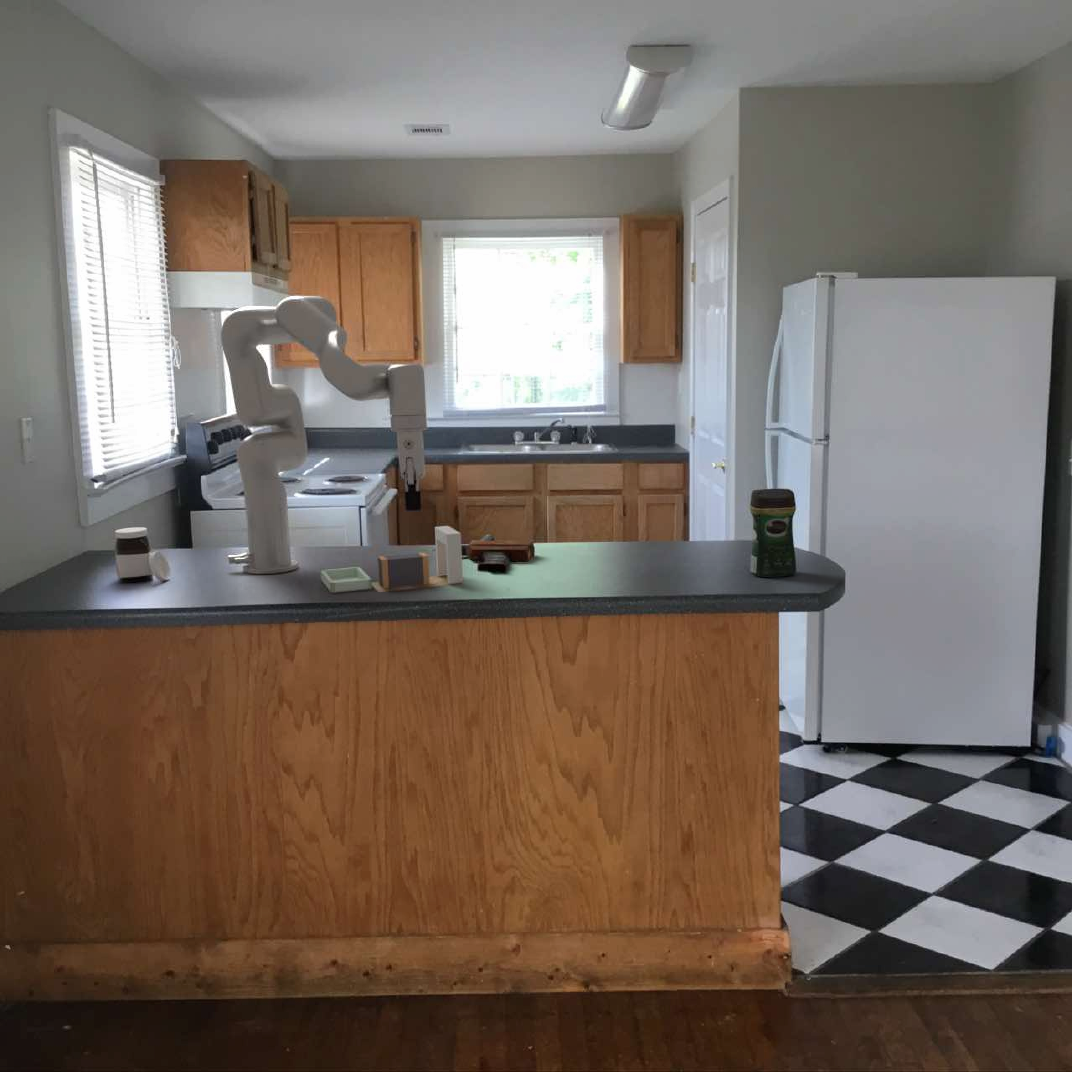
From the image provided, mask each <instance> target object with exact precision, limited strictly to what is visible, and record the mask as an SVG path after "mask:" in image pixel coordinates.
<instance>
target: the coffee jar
mask: <svg viewBox="0 0 1072 1072" xmlns="http://www.w3.org/2000/svg"><path fill="white" fill-rule="evenodd" d="M749 509H750V514H751V517H752V526H753V528H752V542H751V550H750V552H751V554H750V561H749V564H750V565H749V566H750V567H749V571H750V573H751V574H752V575H754V576H757V577H764V578H777V577H778V578H779V577H780V578H781V577H787V576H793V575H794V574H796V573H797V562H796V551H795V542H794V531H793V530H794V529H793V526H794V523H793V522H794V521H793V519H794V515H795V513H796V510H797V504H796V497H795V492H793V490H791V489H789V488H763V489H753V490H752V491H751V496H750V505H749Z"/></svg>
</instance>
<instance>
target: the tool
mask: <svg viewBox="0 0 1072 1072" xmlns="http://www.w3.org/2000/svg"><path fill="white" fill-rule="evenodd" d="M534 543H535V542H534V540H495V538H494V536H493V535H492V534H490V533H489V534H487V533H486V534H485V535H484V536H483V537H482V538H481V539H480V540H471V541H470V542H469V543H468V544H461V552H462V557H464V556H465V557H467V559H469V561H470V562H473V563H478V565H477V567H476V568H477V571H486V572H488V573H489V572H492V573H496V574H497V573H498V574H506V573H508V568H509V566H510V564H511V563H509V562H526V563H527V562H528V561H530V560H532V559H533V558H534V557H535V553H536V552H535V551H536V550H535V545H534ZM433 551H435V552H436V549H433ZM532 557H533V558H532ZM531 558H532V559H531ZM529 559H530V560H529Z"/></svg>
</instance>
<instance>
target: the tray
mask: <svg viewBox="0 0 1072 1072" xmlns="http://www.w3.org/2000/svg"><path fill="white" fill-rule="evenodd" d="M319 573H320V581H321V582H322V583H323V584H324V586H325V587H326V588H327V590H328V591H329V592H330V593H331V594H334V593H335V594H336V593H343V592H345V593H346V592H353V591H363V590H364V591H365V590H372V589H373V586H372V582H373V581H372V580H373V579H372V578H371V577H370V576H369V575H368V574H367V573H366V572H365V571H364V570H363V569H362V568H361V567H360V566H352V567H342V568H334V569H333V568H332V569H330V568H329V569H321V570H320V571H319Z"/></svg>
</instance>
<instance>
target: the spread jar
mask: <svg viewBox="0 0 1072 1072" xmlns="http://www.w3.org/2000/svg"><path fill="white" fill-rule="evenodd" d="M114 533H115V534H114V535H115V541H114V553H115V564H116V565H115V566H116V574H117V580H118V582H119V583H121V584H126V585H127V584H128V585H130V584H134V585H135V584H141V583H142V584H143V583H147V582H149V581H152V580H153V577H154V578H155V579H157V580H158V581H159V582H164V581H167V580H169V579H170V578H171V568H170V564H169V562H168V560H167V557H165V555H164V554H163V553H162V552H161V551H159V550H156V551H154V552H152V547H151V546H152V545H151V541H150V539H149V537H148V534H149V533H148V528H147V527H142V526H141V527H139V526H138V527H137V526H136V527H126V528H120V529H117V530H115V531H114Z"/></svg>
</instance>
